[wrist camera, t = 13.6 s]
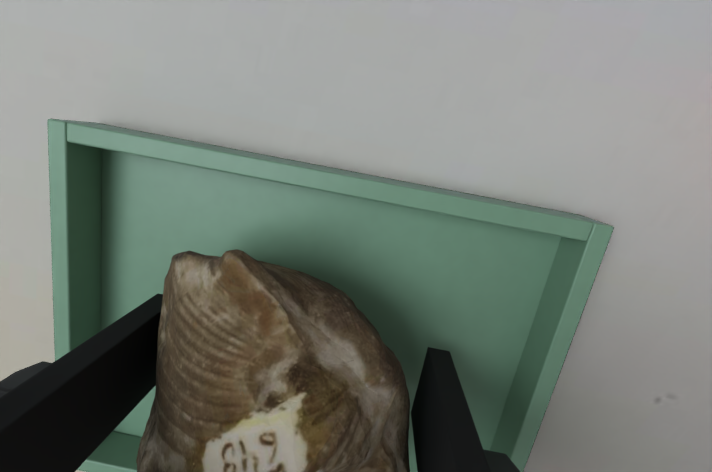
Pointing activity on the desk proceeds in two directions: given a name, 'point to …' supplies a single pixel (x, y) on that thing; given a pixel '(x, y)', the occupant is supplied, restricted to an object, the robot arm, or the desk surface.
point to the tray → (325, 263)
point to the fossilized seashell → (270, 375)
